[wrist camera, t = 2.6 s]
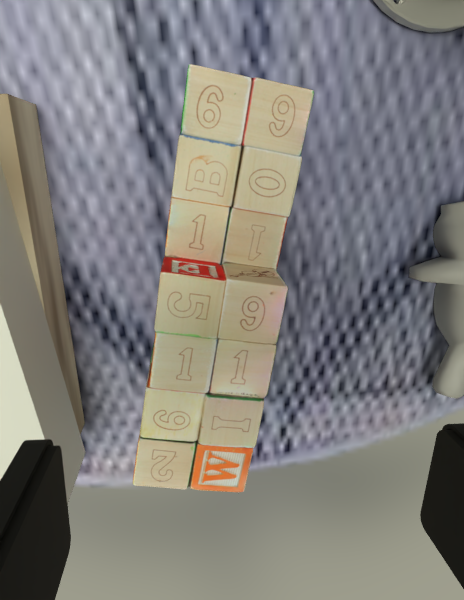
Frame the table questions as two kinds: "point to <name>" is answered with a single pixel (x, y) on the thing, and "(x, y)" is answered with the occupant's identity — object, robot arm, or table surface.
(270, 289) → the stack of blocks
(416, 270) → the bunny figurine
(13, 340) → the upper slab
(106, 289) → the table surface
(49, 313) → the lower slab
